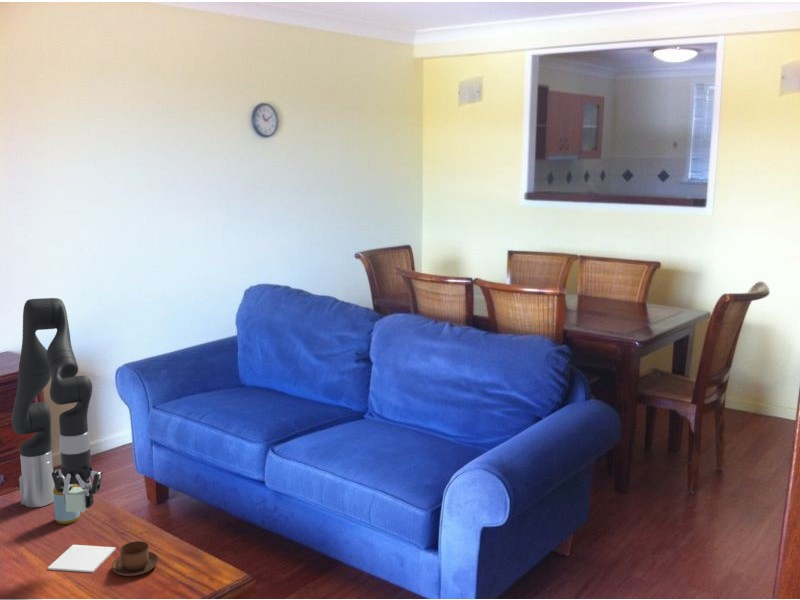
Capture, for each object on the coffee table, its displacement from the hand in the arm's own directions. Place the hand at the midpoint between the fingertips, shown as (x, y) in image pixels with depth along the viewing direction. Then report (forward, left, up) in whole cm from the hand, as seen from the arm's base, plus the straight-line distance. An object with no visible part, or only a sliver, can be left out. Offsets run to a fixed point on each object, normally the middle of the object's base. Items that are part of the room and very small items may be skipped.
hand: (79, 506), depth 209 cm
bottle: (-17, +22, -16) cm, 32 cm away
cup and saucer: (+17, -3, -16) cm, 23 cm away
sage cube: (0, 0, 0) cm, 0 cm away
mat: (0, 0, -16) cm, 16 cm away
